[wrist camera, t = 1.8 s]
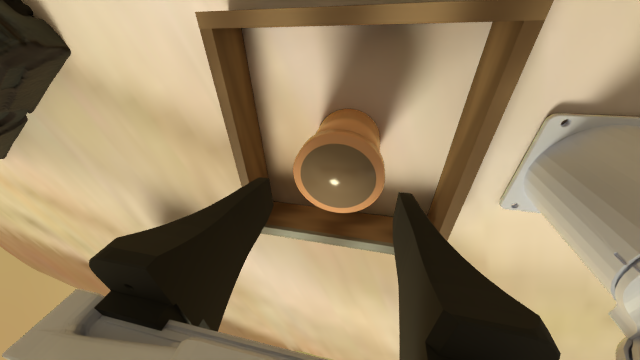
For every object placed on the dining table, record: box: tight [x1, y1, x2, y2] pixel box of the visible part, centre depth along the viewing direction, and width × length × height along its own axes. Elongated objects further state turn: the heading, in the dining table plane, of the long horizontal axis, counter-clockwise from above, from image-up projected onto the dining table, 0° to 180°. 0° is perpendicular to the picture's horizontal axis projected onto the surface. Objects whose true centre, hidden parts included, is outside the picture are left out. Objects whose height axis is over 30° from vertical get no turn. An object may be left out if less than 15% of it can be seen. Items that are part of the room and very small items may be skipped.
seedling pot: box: [293, 109, 385, 213], centre depth 17 cm, size 6×6×6 cm
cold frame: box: [195, 0, 554, 255], centre depth 17 cm, size 18×18×4 cm
